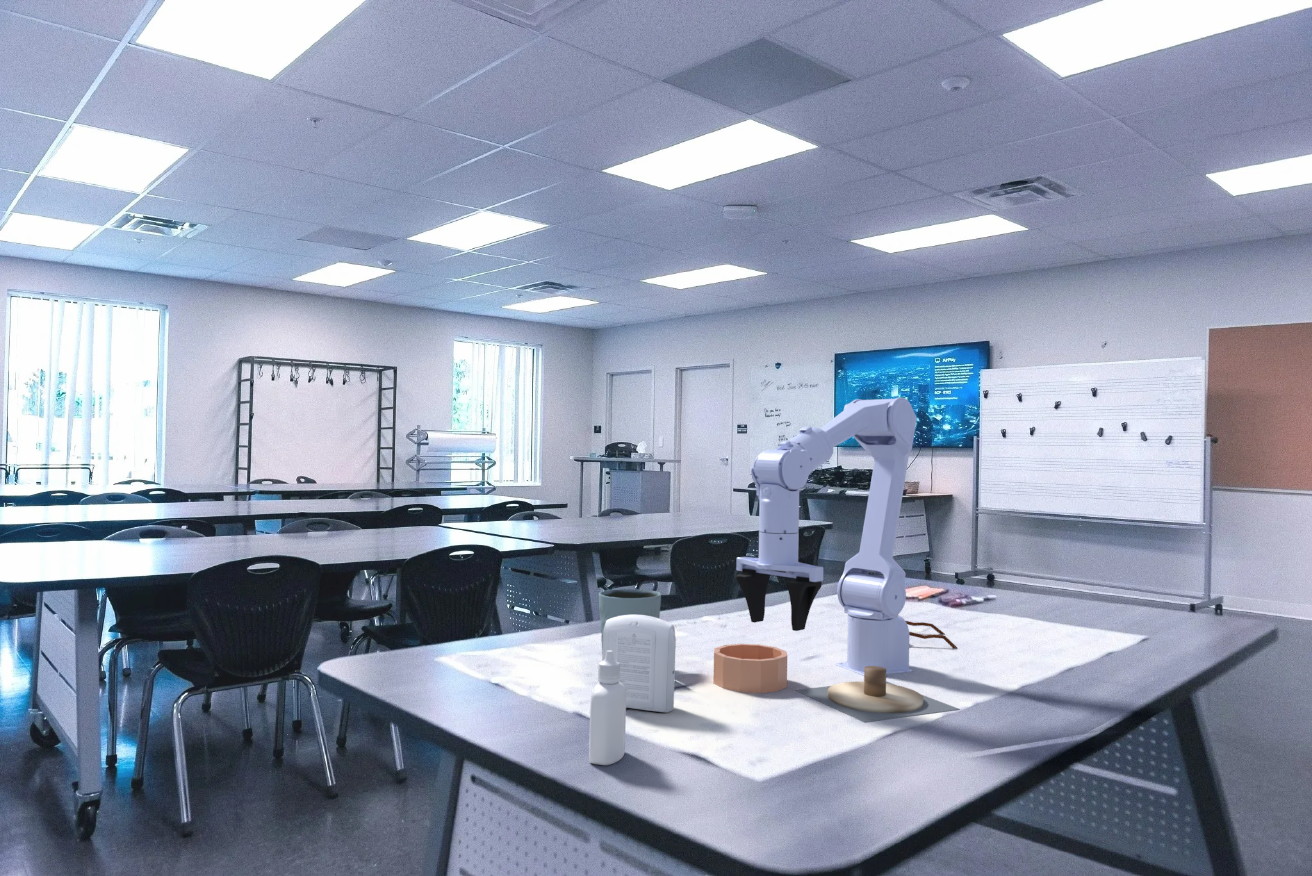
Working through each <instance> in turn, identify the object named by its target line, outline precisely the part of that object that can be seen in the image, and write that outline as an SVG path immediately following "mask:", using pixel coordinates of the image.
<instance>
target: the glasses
mask: <svg viewBox="0 0 1312 876" xmlns="http://www.w3.org/2000/svg"><path fill="white" fill-rule="evenodd" d="M905 621H906V623H907V625H909V626H912V627H917V626H918V627H919V626H923V627H931V628H932V629H933V630H934V631H936V632H937V633H938V634H921V633H916V632H912V631H909V637H910V636H911V637H915V638H919V639H925V640H926V639H943V640H944V641H945V643H947V644H948V645H949V646H950V647H951V648H952V649H958V647H957V646H956V644H955V643H953V642H952V641H951V639H949V638H948V637H947V636H946V633H944V632H943V631H942V630H941V629H939V628H938V627H937V626H936V625H935V624H934V623H928V622H923V621H922V622H913V621H909V620H905Z"/></svg>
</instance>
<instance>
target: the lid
mask: <svg viewBox="0 0 1312 876" xmlns="http://www.w3.org/2000/svg"><path fill="white" fill-rule="evenodd" d="M886 681H887V674H886V669H885V668H883V667H878V666H867V667H864V676H863V681H846V682H840V683H836V684H832V685H830V686H831V687H829V688H828V698H829V699H830V700H831V701H832V702H834V703H836V704H838V705H841V706H844V707H847V708H851V709H855V710H861V711H867V712H877V713H903V712H910V711H914V710H917V709H919V708H921V707H922V706H923V696H922V695H923V694H921V693H919V692H918V691H916V690H913V689H911V688H908V687H905V686H902V685H901V686H900V685H897V684H895V685H893V684H894V683H892V684H887V683H886Z"/></svg>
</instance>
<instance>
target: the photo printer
mask: <svg viewBox="0 0 1312 876" xmlns="http://www.w3.org/2000/svg"><path fill="white" fill-rule="evenodd" d="M675 629H676V628H675V625H674V624H672V623H671V622H669V621H667V620H664V619H662V618H660V617H659V618H655V617H651V616H646V615H623V616H617V617H614V618H610V619H608V620H607V621H606V623H605V627H604V632H603V658H601V661H603V660H604V659H605V656H606V651H607V650H612V651H613V656H614V660H615V661H617V662H619V663H620V681H619V682H620V683H622V684H623V685H624V686H625V688H626V709H627V708H628V709H635V710H643V711H650V712H651V711H652V712H659V713H663V714H664V713H670V712H672V711H673V710H674V707H675V706H674V704H675V677H676V675H675V674H676V673H675V672H676V647H677V646H676V645H677V644H676V643H677V639H676V630H675Z"/></svg>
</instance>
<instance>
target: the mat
mask: <svg viewBox="0 0 1312 876" xmlns="http://www.w3.org/2000/svg"><path fill="white" fill-rule="evenodd" d="M886 683H887V684H893V685H896V684H895V683H892V682H889V681H888V680H886ZM831 686H832V685H828V686H827V685H826V686H819V687H810V688H800V689H795V690H794V691H795V692H797V693H800V694H802V695H804V696H806V697H808V698H810V699H812V700H814V701H817V702H819V703H822V704H823V705H825V706H828V707H829V708H832V709H834V710H837V711H839V712H840V713H843V714H846V715H847V716H850V717H851V718H854V719H855V720H858V721H860V722H862V723H872V722H880V721H885V720H893V719H899V718H900V719H902V718H909V717H917V716H923V715H924V716H925V715H930V714H937V713H946V712H953V711H960V710H961V709H960V708H958V707H955V706H953V705H950V704H947V703H945V702H942V701H940V700H937V699H934V698H932V697H929V696H927V695H924V694H921V695H922V696H923V706H922V707H921V708H919V709H917V710H914V711H910V712H903V713H877V712H867V711H861V710H855V709H851V708H847V707H844V706H841V705H838V704H836V703H834V702H832V701H831V700H830V699H829V698H828V688H829V687H831Z"/></svg>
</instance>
